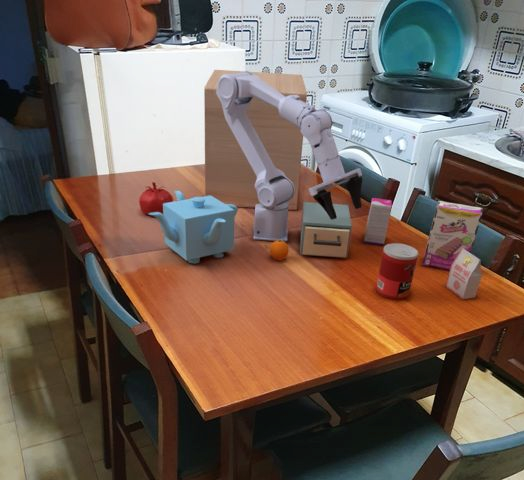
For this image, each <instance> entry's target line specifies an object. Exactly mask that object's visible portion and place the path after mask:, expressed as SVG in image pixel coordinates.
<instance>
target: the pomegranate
mask: <svg viewBox="0 0 524 480" xmlns="http://www.w3.org/2000/svg"><path fill="white" fill-rule="evenodd" d="M151 184H152V187H151V186H147V185H146V186H145V188H146V189H145V190H144V191H143V192H142V193H141V195H140V196H139V199H138V203H139V207H140V211H141V212H142V213H143V214H144V215H147V216H150V215H149V213H152V212H160V213H162V214H163V204H164V203H169V202H174V198H173V196H172V194H171V192H169V191H168V190H166V189H164V188H163V186H160V187H158V185H157V184H156V182H155V181H151ZM157 187H158V188H157Z"/></svg>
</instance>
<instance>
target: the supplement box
mask: <svg viewBox="0 0 524 480" xmlns="http://www.w3.org/2000/svg"><path fill="white" fill-rule="evenodd" d="M369 206H370V207H369V212H368V217H367V221H366V226H365V231H364V238H363V244H367V245H376V246H385V241H386V237H387V232H388V227H389V222H390V218H391V213H392V208H393V200H391V199H385V198H384V199H383V198H377V197H371V201H370V205H369Z"/></svg>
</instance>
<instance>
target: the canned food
mask: <svg viewBox="0 0 524 480" xmlns="http://www.w3.org/2000/svg"><path fill="white" fill-rule="evenodd" d="M418 257H419V251H418V250H417V248H415V247H413V246H411V245H408V244H405V243H397V242H395V243H392V242H391V243H387V244H386V245H384V246H383V250H382V254H381V260H380V266H379V269H378V270H379V271H378V275H377V281H376V291H377V293H378V294H379V295H380V296H382V297H384V298H387V299H390V300H404V299H406V298H407V297H408V296H409V294H410V292H411V288H412V283H413V278H414V274H415V270H416V266H417V261H418Z"/></svg>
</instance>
